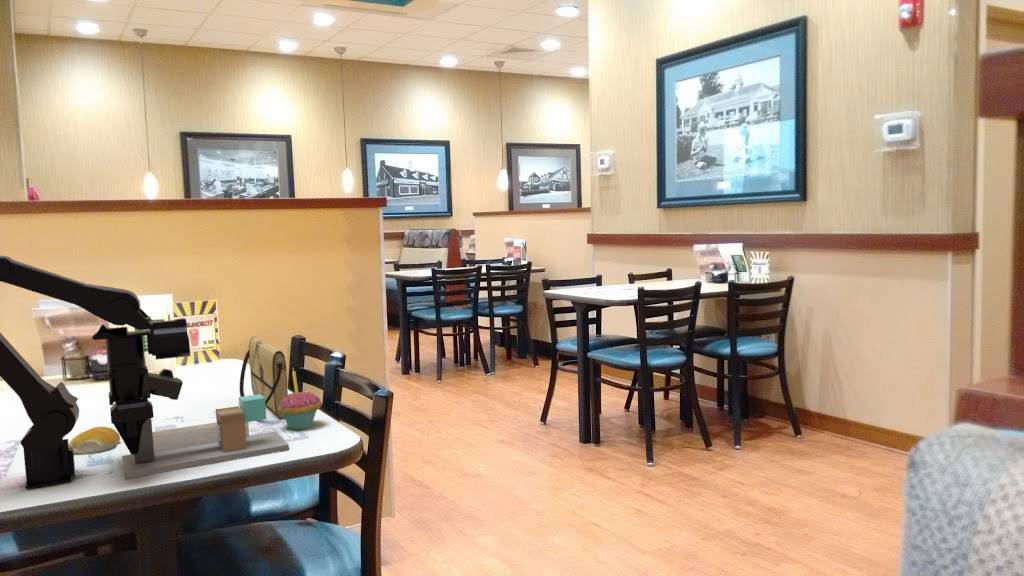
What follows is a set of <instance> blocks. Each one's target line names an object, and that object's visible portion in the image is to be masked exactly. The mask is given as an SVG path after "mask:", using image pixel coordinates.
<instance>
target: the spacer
mask: <svg viewBox="0 0 1024 576" xmlns="http://www.w3.org/2000/svg"><path fill="white" fill-rule="evenodd" d="M266 406H267V405H266ZM266 406H265V398H264V397H263V396H262V395H261V394H258V395H254V394H251V395H245V396H244V397H240V396H238V407H239V408H240V409H241V410H242V411H243V412H244V413H245V422H248V423H250V422H257V421H264V420H265V421H266V420H267V411H266V410H267V409H266Z"/></svg>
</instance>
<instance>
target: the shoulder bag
mask: <svg viewBox="0 0 1024 576" xmlns="http://www.w3.org/2000/svg"><path fill="white" fill-rule="evenodd" d="M248 362H249V368H250V369H249V370H250V381H251V382H250V384H251V390H252V393H253V394H252V395H258V394H261V395H262V396H263V397H264V398H265V406H267V407H268V408H269V409H270V410H271V411H272V412H273V413H275V414H276V416H277V417H278V418H279V419H280V420H282V419H285V418H284V416H283V414H282V413H281V412H279V410H278V409H279V403H280V401H281V400H282V399H283V398H284V397H285V396H287V395H288V394H289V392H288V378H287V363H286V357H285V355H284V352H283V351H281V350H279V349H277V348H276V347H274V346H272V345H270V344H269V343H267V342H265V341H263V340H262V339H260V338H258V337H256V336H253V337H251V338H250V340H249V344H248V350H247V351H246V353H245V356H244V358H243V362H242V366H241V369H240V370H241V371H240V376H239V377H240V378H239V397H244V396H246V394H245V390H244V388H245V387H244V385H245V384H244V381H245V375H246V370H247V369H246V368H247V364H248Z"/></svg>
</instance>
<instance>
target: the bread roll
mask: <svg viewBox="0 0 1024 576" xmlns="http://www.w3.org/2000/svg"><path fill="white" fill-rule="evenodd" d="M120 440H121V436H120V434H119V433H118V431H117V430H115V429H113V428H111V427H108V426H95V427H92V428H89V429H87V430H85V431H82V432H80V433H79V434H77V435H76V436H74V437H73V438H72V439H71V440H70V442H69V448H70V447H72V448H73V453H74V455H89V454H97V453H98V454H99V453H102V452H105V451H109V450H111V449H113V448H114V447H116V446H117V445H118V444H119V442H120Z"/></svg>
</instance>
